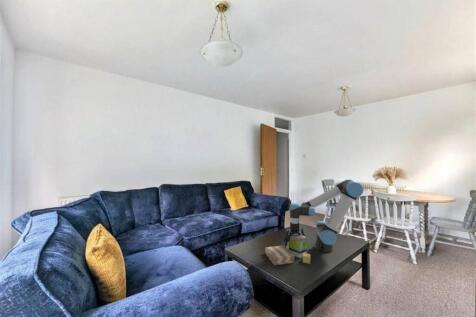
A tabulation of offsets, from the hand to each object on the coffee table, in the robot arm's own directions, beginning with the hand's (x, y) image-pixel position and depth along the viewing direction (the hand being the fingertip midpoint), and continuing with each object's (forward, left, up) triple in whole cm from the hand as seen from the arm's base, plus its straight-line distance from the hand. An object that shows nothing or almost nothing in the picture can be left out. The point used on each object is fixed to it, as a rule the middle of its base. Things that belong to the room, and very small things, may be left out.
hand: (294, 248), depth 169 cm
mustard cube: (-2, +15, -4) cm, 15 cm away
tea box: (0, +1, -4) cm, 4 cm away
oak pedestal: (+16, +5, -4) cm, 17 cm away
